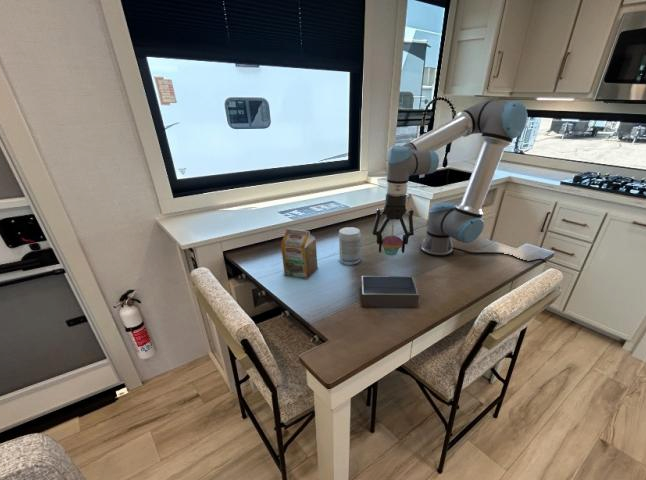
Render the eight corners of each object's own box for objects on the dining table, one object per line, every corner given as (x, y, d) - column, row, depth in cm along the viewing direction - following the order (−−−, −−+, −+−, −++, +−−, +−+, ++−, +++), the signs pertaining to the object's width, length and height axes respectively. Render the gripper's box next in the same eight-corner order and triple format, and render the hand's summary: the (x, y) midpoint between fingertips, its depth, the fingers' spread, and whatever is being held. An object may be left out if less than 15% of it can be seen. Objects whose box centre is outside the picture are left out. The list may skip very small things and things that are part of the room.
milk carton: (317, 268, 142) (315, 227, 132) (307, 279, 134) (303, 236, 123) (296, 264, 145) (292, 224, 135) (284, 275, 137) (279, 232, 126)
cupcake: (379, 249, 132) (380, 220, 126) (399, 248, 133) (402, 220, 126) (382, 258, 125) (384, 228, 118) (403, 257, 126) (407, 228, 119)
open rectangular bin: (411, 288, 128) (413, 276, 125) (417, 307, 117) (419, 294, 114) (361, 287, 128) (361, 275, 125) (361, 306, 117) (362, 294, 114)
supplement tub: (364, 262, 147) (365, 231, 139) (346, 267, 143) (346, 236, 135) (352, 254, 154) (352, 225, 146) (335, 259, 150) (334, 229, 142)
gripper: (367, 196, 113) (365, 254, 125) (427, 197, 113) (419, 255, 125) (366, 190, 119) (364, 247, 132) (423, 191, 119) (416, 247, 132)
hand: (391, 251), depth 128 cm, fingers closed on cupcake, 8 cm apart
